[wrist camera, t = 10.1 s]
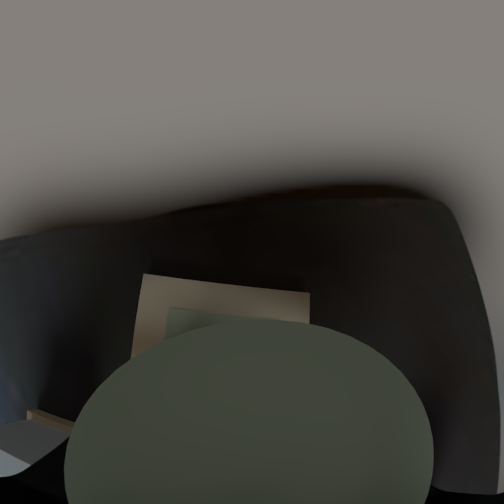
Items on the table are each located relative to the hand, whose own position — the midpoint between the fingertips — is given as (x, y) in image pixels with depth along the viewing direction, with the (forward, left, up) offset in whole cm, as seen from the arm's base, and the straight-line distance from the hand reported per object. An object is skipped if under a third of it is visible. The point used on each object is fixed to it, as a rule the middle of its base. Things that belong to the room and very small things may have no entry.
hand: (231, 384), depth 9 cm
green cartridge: (-1, 0, -7) cm, 7 cm away
